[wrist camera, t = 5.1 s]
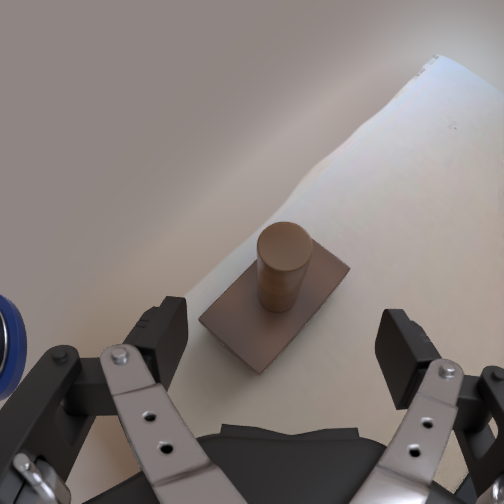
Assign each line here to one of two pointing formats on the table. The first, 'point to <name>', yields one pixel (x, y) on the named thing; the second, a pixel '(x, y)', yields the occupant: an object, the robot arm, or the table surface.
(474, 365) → the table surface
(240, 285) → the brown block with cylinder
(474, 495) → the mat
